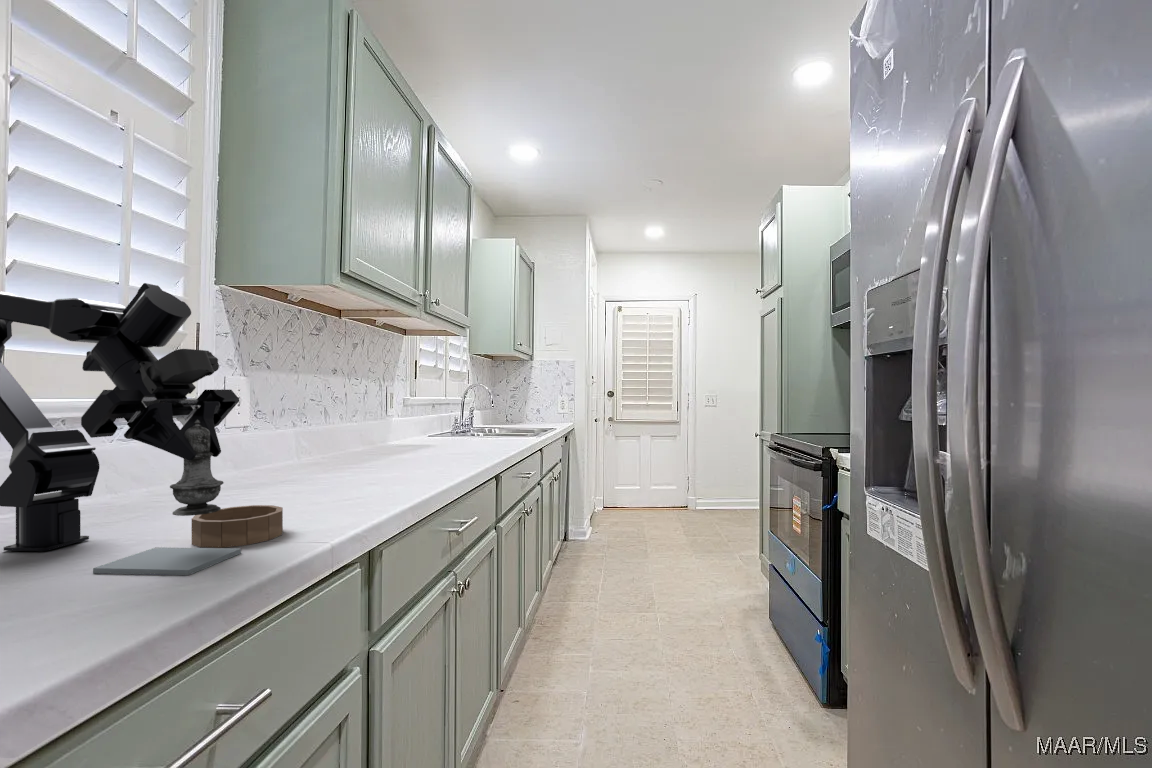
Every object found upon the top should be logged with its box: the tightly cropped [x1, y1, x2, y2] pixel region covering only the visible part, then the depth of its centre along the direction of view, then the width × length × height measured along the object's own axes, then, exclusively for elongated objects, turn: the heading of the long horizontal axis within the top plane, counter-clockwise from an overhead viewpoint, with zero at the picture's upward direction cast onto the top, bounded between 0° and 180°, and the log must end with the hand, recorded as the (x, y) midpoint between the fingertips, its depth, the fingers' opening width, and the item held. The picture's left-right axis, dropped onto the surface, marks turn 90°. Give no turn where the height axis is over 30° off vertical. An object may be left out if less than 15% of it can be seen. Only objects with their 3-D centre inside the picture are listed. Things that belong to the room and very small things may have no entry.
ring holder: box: [191, 504, 284, 548], centre depth 84 cm, size 11×11×4 cm
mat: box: [92, 546, 242, 576], centre depth 71 cm, size 12×9×1 cm
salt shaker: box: [169, 419, 225, 517], centre depth 75 cm, size 6×6×12 cm
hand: (205, 456), depth 75 cm, fingers closed on salt shaker, 4 cm apart
